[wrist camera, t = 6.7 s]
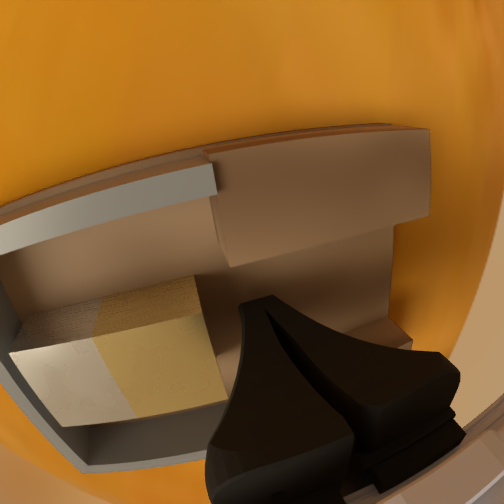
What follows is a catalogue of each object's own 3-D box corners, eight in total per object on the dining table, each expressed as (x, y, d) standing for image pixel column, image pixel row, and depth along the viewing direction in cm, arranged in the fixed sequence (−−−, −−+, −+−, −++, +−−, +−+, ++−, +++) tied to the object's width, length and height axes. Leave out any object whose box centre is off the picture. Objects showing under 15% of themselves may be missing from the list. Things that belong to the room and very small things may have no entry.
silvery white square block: (138, 373, 12) (138, 418, 10) (70, 385, 12) (62, 426, 9) (102, 296, 11) (91, 337, 8) (29, 313, 10) (8, 353, 8)
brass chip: (216, 356, 13) (228, 398, 11) (138, 373, 12) (138, 418, 10) (193, 274, 11) (202, 312, 9) (102, 296, 11) (91, 337, 8)
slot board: (374, 352, 17) (402, 384, 14) (89, 428, 14) (85, 471, 11) (379, 123, 12) (429, 127, 9) (-26, 217, 9) (-66, 244, 6)
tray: (254, 404, 15) (268, 442, 12) (85, 436, 13) (82, 473, 11) (201, 155, 10) (211, 163, 7) (-34, 230, 8) (-69, 255, 6)
